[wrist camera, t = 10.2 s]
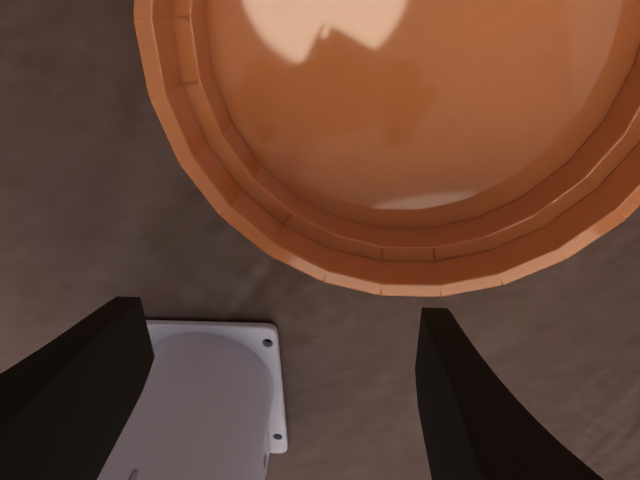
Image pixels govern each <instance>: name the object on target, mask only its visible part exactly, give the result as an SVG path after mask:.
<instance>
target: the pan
mask: <svg viewBox="0 0 640 480" xmlns="http://www.w3.org/2000/svg"><path fill="white" fill-rule="evenodd" d="M134 18H135V19H134V25H135V30H136V35H137V40H138V45H139V50H140V55H141V60H142V65H143V70H144V75H145V80H146V86H147V91H148V96H149V97H150V101H151V103H152V105H153V107H154V109H155V112H156V114H157V116H158V118H159V120H160V123H161V125H162V127H163V129H164V131H165V134H166V136H167V138H168V140H169V142H170V144H171V147H172V149H173V151H174V153H175V155H176V158H177V160H178V162H179V163H180V165H181V167H182V168H183V169H184V170H185V172H186V173H187V174H188V176H189V177H190V178H191V179H192V181H193V182H194V183H195V185H196V186H197V187H198V189H199V190H200V191H201V192H202V194H203V195H204V196H205V198H206V199H207V200H208V201H209V203H210V204H211V205H212V207H213V208H214V209H215V211H216V212H217V213H218V214H219V215H221V217H222V218H223V219H224V220H226V221H227V222H228V223H229V224H230V225H232V226H233V227H234V228H235V229H237V230H238V231H239V232H240V233H242V234H243V235H244V236H245V237H246V238H248V239H249V240H250V241H251V242H253V243H254V244H255V245H256V246H257V247H259V248H260V249H261V250H262V251H264V252H265V253H266V254H269V256H271V257H273V258H275V259H277V260H279V261H281V262H283V263H285V264H287V265H289V266H291V267H293V268H295V269H297V270H299V271H301V272H303V273H305V274H307V275H310V276H312V277H314V278H316V279H318V280H320V281H322V280H323V282H326V283H330V284H334V285H338V286H342V287H346V288H351V289H355V290H359V291H363V292H367V293H371V294H376V295H382V296H425V297H440V296H448V295H453V294H458V293H464V292H469V291H474V290H480V289H485V288H490V287H495V286H501V285H502V284H503V285H505V284H507V283H510V282H512V281H515V280H517V279H520V278H522V277H525V276H527V275H529V274H532V273H534V272H537V271H539V270H542V269H544V268H547V267H549V266H551V265H554V264H556V263H559V262H561V261H564V260H565V259H568V258H569V257H571V256H572V255H574V254H575V253H577V252H578V251H580V250H581V249H583V248H584V247H586V246H587V245H589V244H590V243H592V242H593V241H595V240H596V239H598V238H599V237H601V236H602V235H604V234H605V233H607V232H608V231H610V230H611V229H613V228H614V227H616V226H617V225H619V224H620V223H622V222H623V221H625V220H626V218H628V217H629V216H630V215H631V214H632V213H633V212H634V211H635V210H636V209H637V208H638V207H639V206H640V0H134Z"/></svg>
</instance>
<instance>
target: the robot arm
mask: <svg viewBox="0 0 640 480" xmlns="http://www.w3.org/2000/svg"><path fill="white" fill-rule="evenodd" d="M264 339H269V340H271V342H268V341H266V340H264ZM415 374H416V388H417V400H418V409H419V415H420V420H421V425H422V430H423V436H424V441H425V446H426V451H427V456H428V461H429V466H430V471H431V477H432V480H604V479H602V478H601V477H600V476H599V475H597V474H596V473H595V472H594V471H593V470H591V469H590V468H589V467H588V466H587V465H586V464H584V463H583V462H582V461H581V460H580V459H578V458H577V457H576V456H575V455H574V454H572V453H571V452H570V451H569V450H568V449H567V448H565V447H564V446H563V445H562V444H561V443H560V442H559V441H558V440H557V439H555V438H554V437H553V436H552V435H551V434H550V433H549V432H548V431H547V430H546V429H545V428H544V427H543V426H542V425H541V424H540V423H539V422H538V421H537V420H536V419H535V418H534V417H533V416H532V415H531V414H530V413H529V412H528V411H527V410H526V409H525V408H524V407H523V406H522V404H521V403H520V402H519V401H518V400H517V399H516V398H515V397H514V396H513V394H512V393H511V392H510V391H509V390H508V389H507V388H506V386H505V385H504V384H503V383H502V382H501V381H500V379H499V378H498V377H497V376H496V374H495V373H494V372H493V371H492V369H491V368H490V367H489V366H488V364H487V363H486V362H485V360H484V359H483V358H482V357H481V355H480V354H479V353H478V351H477V350H476V349H475V347H474V346H473V344H472V343H471V342H470V340H469V339H468V337H467V336H466V334H465V333H464V332H463V330H462V329H461V327H460V326H459V324H458V323H457V321H456V319H455V318H454V316H453V315H452V313H451V312H450V311H449V310H448V309H447V308H422V312H421V321H420V330H419V339H418V348H417V357H416V365H415ZM287 447H288V437H287V426H286V415H285V404H284V393H283V383H282V372H281V361H280V350H279V339H278V330H277V328H276V327H275V326H274V325H272V324H270V323H247V322H208V321H169V320H146V319H145V315H144V311H143V307H142V303H141V299H140V297H116V298H114V299H113V300H111V301H109V302H108V303H106V304H105V305H103V306H102V307H100V308H99V309H97V310H96V311H95V312H93V313H92V314H90V315H89V316H87V317H86V318H84V319H83V320H82V321H80V322H79V323H77V324H76V325H74V326H73V327H72V328H70V329H69V330H67V331H66V332H64V333H63V334H61V335H60V336H58V337H57V338H56V339H54V340H53V341H51V342H50V343H48V344H47V345H45V346H44V347H42V348H41V349H39V350H38V351H36V352H34V353H33V354H31V355H30V356H28V357H27V358H25V359H23V360H22V361H20V362H19V363H17V364H16V365H14V366H12V367H11V368H9V369H8V370H6V371H5V372H3V373H1V374H0V480H265V475H266V470H267V465H268V460H269V454H270V453H283V452H286V450H287Z"/></svg>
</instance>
